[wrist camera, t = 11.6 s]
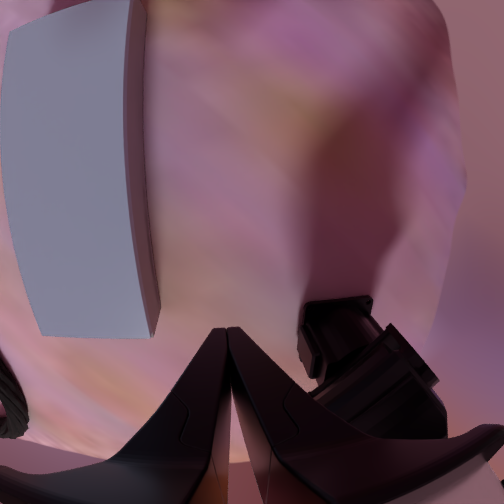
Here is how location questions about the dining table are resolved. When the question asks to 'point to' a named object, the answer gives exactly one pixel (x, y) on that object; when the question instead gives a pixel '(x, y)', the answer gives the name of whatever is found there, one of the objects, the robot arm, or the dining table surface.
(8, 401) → the cable lock
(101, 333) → the cover
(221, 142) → the dining table surface
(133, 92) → the grey tray with bar
